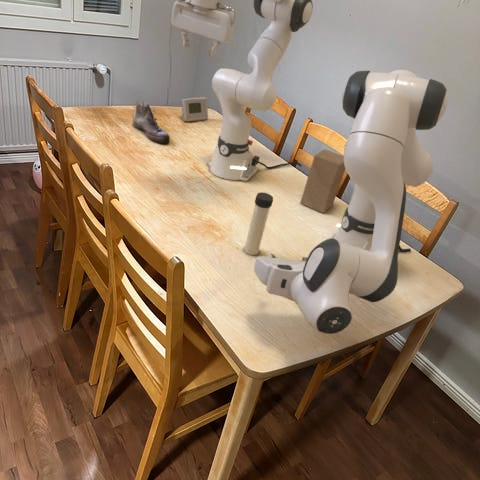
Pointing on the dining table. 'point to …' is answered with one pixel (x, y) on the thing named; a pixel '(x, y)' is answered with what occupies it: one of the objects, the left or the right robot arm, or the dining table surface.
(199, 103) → the digital clock
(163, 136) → the shoe
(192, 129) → the dining table surface
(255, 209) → the beige cylindrical bottle
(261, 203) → the lid
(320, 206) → the wooden block
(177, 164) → the dining table surface
